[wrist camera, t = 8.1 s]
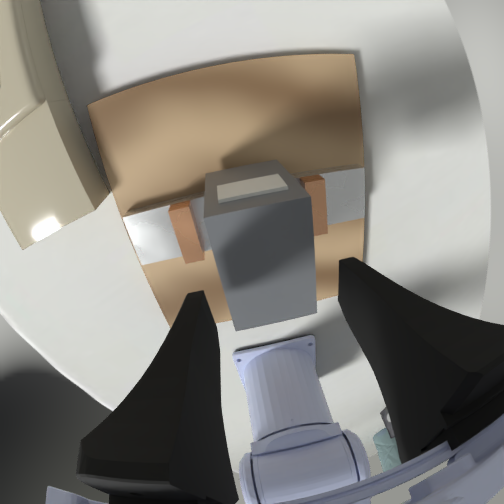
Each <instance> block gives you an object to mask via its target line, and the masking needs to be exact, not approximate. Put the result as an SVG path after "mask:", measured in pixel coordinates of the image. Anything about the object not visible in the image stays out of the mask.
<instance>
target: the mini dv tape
mask: <svg viewBox="0 0 504 504" xmlns="http://www.w3.org/2000/svg"><path fill="white" fill-rule="evenodd" d="M380 414H381V417H382V419H383V421H384V424H385V426H386V428H387V431H388V433H389V436H390V438H391V439H392V438H395V435H394V431H393V427H392V424H391V420H390V417H389V413H388V410H387V407H386V408H385V409H384V410H383V411H382V412H381V413H380Z"/></svg>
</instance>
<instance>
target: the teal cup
mask: <svg viewBox="0 0 504 504" xmlns="http://www.w3.org/2000/svg"><path fill="white" fill-rule="evenodd" d="M373 440H374V443H375V445H376V449H377V450H378V455H379V458H380V461H381V464H382V469H383V472H385V471H388V470H390V469H392V468H395V467H397V466H399V465H401V461H400V459H399V453H398V448H397V444H396V440H395V438H392V439H391V438H390V436H389V433H388V431H387V428H384V429H383V430H381V431H379V432H378V433H377V434H375V436H374V437H373Z"/></svg>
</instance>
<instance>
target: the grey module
mask: <svg viewBox="0 0 504 504" xmlns="http://www.w3.org/2000/svg"><path fill="white" fill-rule="evenodd" d="M203 219H204V222H205V226H206V230H207V233H208V237H209V241H210V244H211V248H212V252H213V255H214V259H215V262H216V266H217V270H218V273H219V277H220V280H221V284H222V287H223V290H224V294H225V297H226V301H227V304H228V307H229V311H230V314H231V317H232V321H233V324H234V327H235V330H236V331H240V330H245V329H250V328H254V327H259V326H264V325H268V324H273V323H277V322H282V321H286V320H290V319H294V318H299V317H303V316H307V315H311V314H315V313H317V296H316V267H315V246H314V229H313V215H312V202H311V196H310V195H309V194H308V192H307V191H306V190H305V189H304V188H303V187H302V186H301V185H300V184H299V183H298V182H297V180H296V179H295V178H294V177H293V176H292V175H291V174H290V173H289V172H288V171H287V170H286V169H285V168H284V167H283V166H282V165H281V163H280V162H279V161H278V160H271V161H265V162H260V163H254V164H249V165H244V166H239V167H234V168H229V169H224V170H220V171H215V172H211V173H206V177H205V195H204V216H203Z"/></svg>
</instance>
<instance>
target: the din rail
mask: <svg viewBox="0 0 504 504" xmlns="http://www.w3.org/2000/svg"><path fill="white" fill-rule="evenodd" d="M291 175H292V176H293V177H294V178H295V179H296V180H297V182H298V183H299V184H300V185H301V186H302V187H303V188H304V189H305V190H306V191H307V192H308V194H309V195H310V196H311V202H312V215H313V229H314V236H319V235H323V234H328V225H331V224H336V223H341V222H346V221H351V220H356V219H360V218H365V168H364V167H363V166H361V165H359V164H350V165H342V166H335V167H329V168H322V169H316V170H309V171H303V172H297V173H291ZM204 195H205V191H203V192H198V193H194V194H190V195H186V196H182V197H178V198H174V199H170V200H166V201H162V202H158V203H154V204H151V205H147V206H143V207H140V208H136V209H132V210H129V211H126V213H125V215H124V216H123V220H124V223H125V225H126V228H127V231H128V233H129V236H130V238H131V241H132V243H133V246H134V248H135V251H136V253H137V255H138V258H139V260H140V262H141V265H146V264H150V263H154V262H159V261H163V260H168V259H172V258H177V257H181V256H183V259H184V261H185V264H189V263H193V262H198V261H202V260H205V251H209V250H212V248H211V244H210V241H209V237H208V233H207V230H206V226H205V222H204V219H203V216H204Z"/></svg>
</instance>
